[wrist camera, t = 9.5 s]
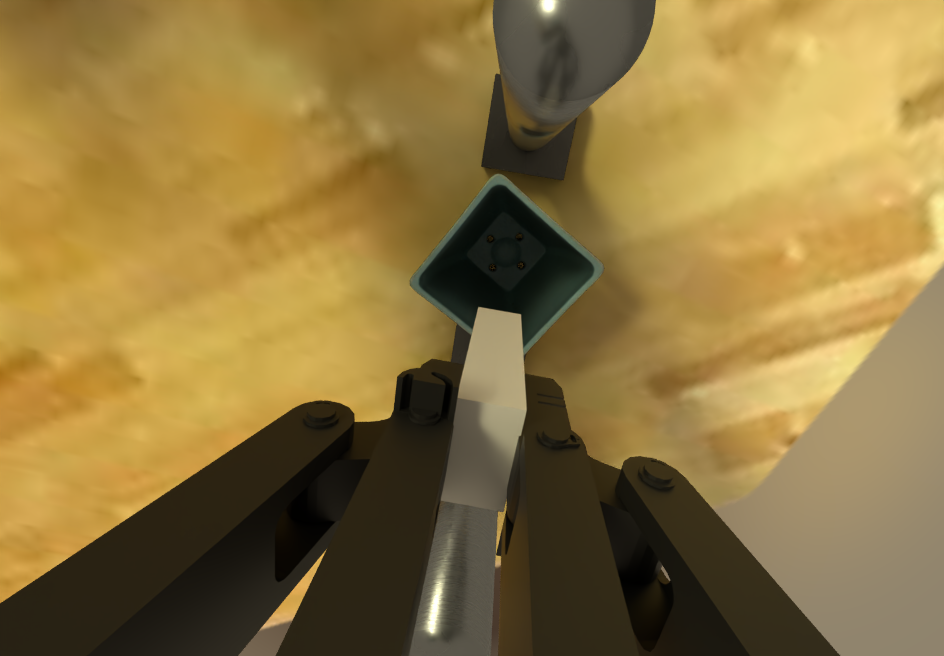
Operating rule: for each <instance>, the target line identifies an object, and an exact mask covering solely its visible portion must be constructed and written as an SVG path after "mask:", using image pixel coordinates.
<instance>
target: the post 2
mask: <svg viewBox="0 0 944 656" xmlns="http://www.w3.org/2000/svg"><path fill="white" fill-rule="evenodd" d="M655 3H656V0H494V5H493V28H494V35H495V42H496V48H497V55H498V62H499V68H500V74H496V75H495V81H494V88H493V94H492V101H491V107H490V114H489V120H488V126H487V133H486V139H485V146H484V152H483V159H482V165H481V167H487V168H493V169H499V170H505V171H510V172H516V173H522V174H528V175H534V176H540V177H546V178H552V179H558V180H564V175H565V170H566V166H567V161H568V156H569V152H570V147H571V143H572V138H573V133H574V129H575V124H576V119H577V117H578V116H579V115H580V114H581V113H582V112H583V111H584V110H586V109H587V108H588V107H589V106H590V105H591V104H592V103H594V102H595V101H596V100H597V99H598V98H599V97H600V96H601V95H603V94H604V93H605V92H606V91H607V90H608V89H609V88H611V87H612V86H613V85H614V84H615V83H616V82H617V81H619V80H620V79H621V78H622V77H623V76H624V75H625V74H626V73H627V72H628V71H629V70H630V68H631V67H632V66H633V64H634V63H635V62H636V60H637V59H638V57H639V55H640V54H641V52H642V50H643V49H644V46H645V44H646V42H647V39H648V37H649V34H650V31H651V28H652V24H653V19H654V14H655Z"/></svg>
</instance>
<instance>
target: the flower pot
mask: <svg viewBox="0 0 944 656" xmlns="http://www.w3.org/2000/svg"><path fill="white" fill-rule="evenodd" d="M518 233H520V234H522V239H521V240H518V239H516V235H517V234H518ZM488 236H493V238H494V240H493V242H488V241H487V237H488ZM520 262H523V263H524V267H523V268H519V267H518V263H520ZM491 264H494V265H495V266H496V269H495V270H493V271H492V270H490V268H489V267H490V265H491ZM603 271H604V266H603V264H602V263H601V261H600V260H599V259H598V258H597V257H595V256H594V255H593V254H592V253H591V252H589V251H588V250H587V249H586V248H585V247H584V246H582V245H581V244H580V243H579V242H578V241H577V240H576V239H574V238H573V237H572V236H571V235H570V234H569V233H567V232H566V231H565V230H564V229H563V228H562V227H561V226H559V225H558V224H557V223H556V222H555V221H554V220H553V219H552V218H551V217H550V216H548V215H547V214H546V213H545V212H544V211H543V210H542V209H540V208H539V207H538V206H537V205H536V204H535V203H534V202H533V201H532V200H531V199H529V198H528V197H527V196H526V195H525V194H524V193H523V192H522V191H521V190H520V189H519V188H517V187H516V186H515V185H514V184H513V183H512V182H511V181H510V180H509V179H508V178H506V177H505V176H504V175H502V174H495V175H493V176H492V177H491V178H490V179H489V180H488V181H487V183H486V184H485V185H484V187H483V188H482V189H481V191H480V192H479V193H478V195H477V196H476V197H475V198H474V200H473V201H472V202H471V204H470V205H469V206H468V208H467V209H466V210H465V211H464V213H463V214H462V215H461V216H460V218H459V219H458V220H457V222H456V223H455V224H454V225H453V227H452V228H451V229H450V230H449V232H448V233H447V234H446V235H445V237H444V238H443V239H442V240H441V241H440V243H439V244H438V245H437V246H436V248H435V249H434V250H433V251H432V253H431V254H430V255H429V256H428V257H427V259H426V260H425V261H424V262H423V264H422V265H421V266H420V267H419V269H418V270H417V271H416V272H415V273H414V274H413V276H412V277H411V279H410V286H411V287H412V288H413V289H414V290H415V291H416V292H417V293H418V294H420V295H421V296H422V297H424V298H425V299H426V300H427V301H429V302H430V303H431V304H433V305H434V306H435V307H436V308H438V309H439V310H440V311H441V312H443V313H444V314H446V315H447V316H448V317H449V318H451V319H452V320H453V321H454V322H456V323H457V324H458V325H459V326H461V327H462V328H463V329H464V330H465V331H467V332H468V333H469V334H470V335H472V332H473V327H474V323H475V319H476V315H477V311H478V307H482V308H487V309H493V310H499V311H504V312H510V313H516V314H521V324H522V341H523V356H524V355H525V354H526V353H527V352H528V351H529V350H530V348H531V347H532V346H533V345H534V344H535V343H536V342H537V341H538V340H539V339H540V338H541V337H542V336H543V335H544V334H545V332H546V331H547V330H548V329H549V328H550V327H551V326H552V325H553V324H554V323H555V322H556V321H557V320H558V319H559V318H560V317H561V316H562V315H563V314H564V312H566V310H567V309H568V308H569V307H570V306H571V305H572V304H573V303H574V302H575V301H576V300H577V299H578V298H579V297H580V296H581V295H582V294H583V293H584V292H585V291H586V290H587V289H588V288H589V287H590V286H591V285H592V284H593V283H594V282H595V281H596V280H597V279H598V278H599V277H600V276H601V274H602V273H603Z"/></svg>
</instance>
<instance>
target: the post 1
mask: <svg viewBox="0 0 944 656" xmlns="http://www.w3.org/2000/svg"><path fill="white" fill-rule="evenodd" d="M471 336H472V335H470V334H469V333H468V332H467V331H465V330H464V329H463V328H462V327H461V326H459V325H458V324H457V326H456V333H455V339H454V345H453V352H452V358H451V362H453V363H459V364H464V365H465V361H466V356H467V352H468V348H469V344H470V340H471ZM525 356H526V354H525V355H524V356H523V357H524V360H525ZM497 517H498V511H494V510H489V509H484V508H478V507H473V506H468V505H462V504H457V503H452V502H446V501H440V507H439V513H438V519H437V523H436V528H435V533H434V538H433V543H432V547H431V552H430V557H429V562H428V567H427V571H426V576H425V581H424V586H423V591H422V596H421V600H420V605H419V610H418V615H417V620H416V624H415V629H414V634H413V639H412V644H411V648H410V653H409V656H490V654H491V633H492V614H493V595H494V574H495V556H496V536H497Z"/></svg>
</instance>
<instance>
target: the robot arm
mask: <svg viewBox="0 0 944 656" xmlns="http://www.w3.org/2000/svg"><path fill="white" fill-rule="evenodd" d="M506 499H507V510H506V514H505V519H504V523H503V527H502V532H501V536H500V540H499V545H498V549H497V553H496V555H498V556H501V581H500V613H499V645H498V656H840V655H839V654H838V653H837V652H836V651H835V649H834V648H833V647H832V646H831V645H830V644H829V642H828V641H827V640H826V639H825V638H824V637H823V636H822V634H821V633H820V632H819V631H818V630H817V629H816V627H815V626H814V625H813V624H812V623H811V622H810V621H809V620H808V619H807V617H806V616H805V615H804V614H803V613H802V611H801V610H800V609H799V608H798V607H797V606H796V605H795V603H794V602H793V601H792V600H791V599H790V598H789V597H788V595H787V594H786V593H785V592H784V591H783V590H782V588H781V587H780V586H779V585H778V584H777V583H776V582H775V580H774V579H773V578H772V577H771V576H770V575H769V573H768V572H767V571H766V570H765V569H764V568H763V567H762V565H761V564H760V563H759V562H758V561H757V560H756V558H755V557H754V556H753V555H752V554H751V553H750V552H749V550H748V549H747V548H746V547H745V546H744V545H743V544H742V542H741V541H740V540H739V539H738V538H737V537H736V535H735V534H734V533H733V532H732V531H731V530H730V529H729V527H728V526H727V525H726V524H725V523H724V522H723V521H722V519H721V518H720V517H719V516H718V515H717V514H716V512H715V511H714V510H713V509H712V508H711V507H710V506H709V504H708V503H707V502H706V501H705V500H704V499H703V498H702V496H701V495H700V494H699V493H698V492H697V491H696V489H695V488H694V487H693V486H692V485H691V484H690V483H689V481H688V480H687V479H686V478H685V477H684V476H683V475H682V474H680V473H679V472H678V471H677V470H676V469H674V468H672V467H671V466H669V465H667V464H666V463H664V462H662V461H660V460H659V461H658V460H657V459H653V458H647V457H641V456H638V457H630V458H628V459H627V460H625V461H624V463H623V466H622V469H621V470H620V469H617V468H614V467H612V466H609V465H607V464H604V463H602V462H599V461H597V460H595V459H593V458H592V457H590V456H588V455H587V451H586V447H585V444H584V442H583V441H582V439H581V438H580V437H579V436H578V435H577V434H576V433H575V432H573V431H572V430H571V427H570V423H569V418H568V414H567V409H566V405H565V401H564V396H563V392H562V388H561V387H560V386H559V385H558V384H557V383H556V382H555V381H554V380H553V379H550V378H544V377H539V376H533V375H528V374H524V357H523V341H522V324H521V314H516V313H510V312H504V311H499V310H493V309H487V308H482V307H478V311H477V315H476V319H475V323H474V327H473V332H472V336H471V340H470V344H469V348H468V352H467V356H466V361H465V365H464V364H459V363H453V362H448V361H442V360H437V359H431V360H429V361H428V362H426V363H424V364H423V365H422V366H421V368H415V369H409V370H406V371H404V372H402V373H401V374H400V375H399V376H398V377H397V385H396V394H395V403H394V411H393V413H392V415H391V417H390V418H388V419H385V420H381V421H374V422H355V419H354V413H353V412H352V411H351V409H350V408H349V407H347V406H345V405H343V404H341V403H336V402H331V401H323V400H322V401H313V402H308V403H304V404H302V405H299V406H297V407H295V408H293V409H292V410H290V411H289V412H287V413H286V414H284V415H283V416H281V417H280V418H278V419H277V420H275V421H274V422H272V423H271V424H269V425H268V426H266V427H265V428H263V429H262V430H260V431H259V432H257V433H256V434H254V435H253V436H251V437H250V438H248V439H247V440H245V441H244V442H242V443H241V444H239V445H238V446H236V447H235V448H233V449H232V450H230V451H229V452H227V453H226V454H224V455H223V456H221V457H220V458H218V459H217V460H215V461H214V462H212V463H211V464H209V465H208V466H206V467H205V468H203V469H202V470H200V471H199V472H197V473H196V474H194V475H193V476H191V477H190V478H188V479H187V480H185V481H184V482H182V483H181V484H179V485H178V486H176V487H175V488H173V489H172V490H170V491H168V492H167V493H165V494H164V495H162V496H161V497H159V498H158V499H156V500H155V501H153V502H152V503H150V504H149V505H147V506H146V507H144V508H143V509H141V510H140V511H138V512H137V513H135V514H134V515H132V516H131V517H129V518H128V519H126V520H125V521H123V522H122V523H120V524H119V525H117V526H116V527H114V528H113V529H111V530H110V531H108V532H107V533H105V534H104V535H102V536H101V537H99V538H98V539H96V540H95V541H93V542H92V543H90V544H89V545H87V546H86V547H84V548H83V549H81V550H80V551H78V552H77V553H75V554H74V555H72V556H71V557H69V558H68V559H66V560H65V561H63V562H62V563H60V564H59V565H57V566H56V567H54V568H53V569H51V570H50V571H48V572H47V573H45V574H44V575H42V576H41V577H39V578H38V579H36V580H35V581H33V582H32V583H30V584H29V585H27V586H26V587H24V588H23V589H21V590H20V591H18V592H17V593H15V594H14V595H12V596H11V597H9V598H8V599H6V600H5V601H3V602H2V603H0V656H238V655H239V654H240V653H241V651H242V650H243V649H244V648H245V647H246V645H247V644H248V643H249V642H250V641H251V639H252V638H253V637H254V636H255V635H256V633H257V632H258V631H259V630H260V629H261V627H262V626H263V625H264V624H265V623H266V621H267V620H268V619H269V618H270V617H271V615H272V614H273V613H274V612H275V611H276V609H277V608H278V607H279V606H280V605H281V603H282V602H283V601H284V600H285V598H286V597H287V596H288V595H289V594H290V592H291V591H292V590H293V589H294V588H295V586H296V585H297V584H298V583H299V582H300V580H301V579H302V578H303V577H304V576H305V574H306V573H307V572H308V571H309V570H310V568H311V567H312V566H313V565H314V564H315V562H316V561H317V560H318V559H319V557H320V556H321V555H322V554H323V553H324V551H325V550H326V549H327V550H326V552H325V554H324V556H323V558H322V561H321V563H320V565H319V567H318V569H317V571H316V573H315V575H314V577H313V579H312V581H311V583H310V586H309V588H308V590H307V592H306V594H305V596H304V598H303V600H302V602H301V604H300V606H299V608H298V610H297V613H296V615H295V617H294V619H293V621H292V623H291V625H290V627H289V629H288V631H287V633H286V635H285V638H284V640H283V642H282V644H281V646H280V648H279V650H278V652H277V654H276V656H409V653H410V648H411V644H412V639H413V634H414V629H415V624H416V620H417V615H418V610H419V605H420V600H421V596H422V591H423V586H424V581H425V576H426V571H427V567H428V562H429V557H430V552H431V547H432V543H433V538H434V533H435V528H436V523H437V519H438V513H439V507H440V501H446V502H452V503H457V504H462V505H468V506H473V507H478V508H484V509H489V510H494V511H500V512H504V507H505V503H506ZM662 565H663V567H664V568H665V570H666V572H667V573H668V575H669V578H670V580H671V581H669V580H668V579H667V578H666V576H665V575H664V573H663V572H662V570H661V567H662Z"/></svg>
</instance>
